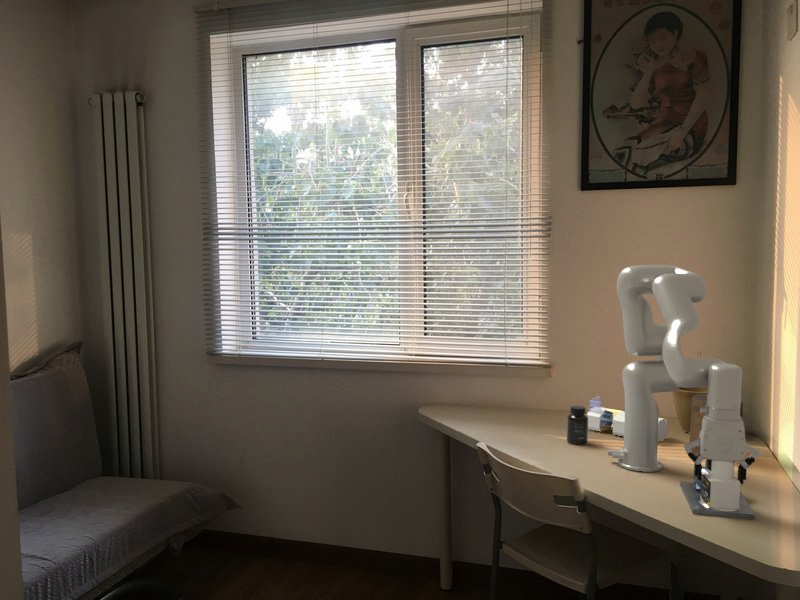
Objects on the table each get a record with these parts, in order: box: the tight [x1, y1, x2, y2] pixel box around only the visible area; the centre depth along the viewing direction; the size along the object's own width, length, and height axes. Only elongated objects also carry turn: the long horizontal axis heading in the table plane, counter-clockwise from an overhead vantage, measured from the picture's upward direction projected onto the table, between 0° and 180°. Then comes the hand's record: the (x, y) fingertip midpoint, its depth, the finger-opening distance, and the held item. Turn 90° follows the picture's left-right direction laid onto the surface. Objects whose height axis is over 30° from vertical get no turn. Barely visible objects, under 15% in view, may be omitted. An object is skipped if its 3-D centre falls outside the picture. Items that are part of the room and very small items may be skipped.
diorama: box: [586, 395, 669, 442], centre depth 234 cm, size 25×10×13 cm, turn 46°
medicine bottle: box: [700, 459, 741, 509], centre depth 167 cm, size 7×7×12 cm
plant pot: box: [671, 387, 708, 432], centre depth 237 cm, size 15×15×16 cm
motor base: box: [679, 459, 756, 520], centre depth 172 cm, size 14×20×9 cm
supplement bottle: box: [566, 405, 589, 446], centre depth 224 cm, size 7×7×12 cm
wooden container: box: [689, 394, 744, 456], centre depth 210 cm, size 15×15×22 cm
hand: (719, 480), depth 168 cm, fingers open, 9 cm apart
